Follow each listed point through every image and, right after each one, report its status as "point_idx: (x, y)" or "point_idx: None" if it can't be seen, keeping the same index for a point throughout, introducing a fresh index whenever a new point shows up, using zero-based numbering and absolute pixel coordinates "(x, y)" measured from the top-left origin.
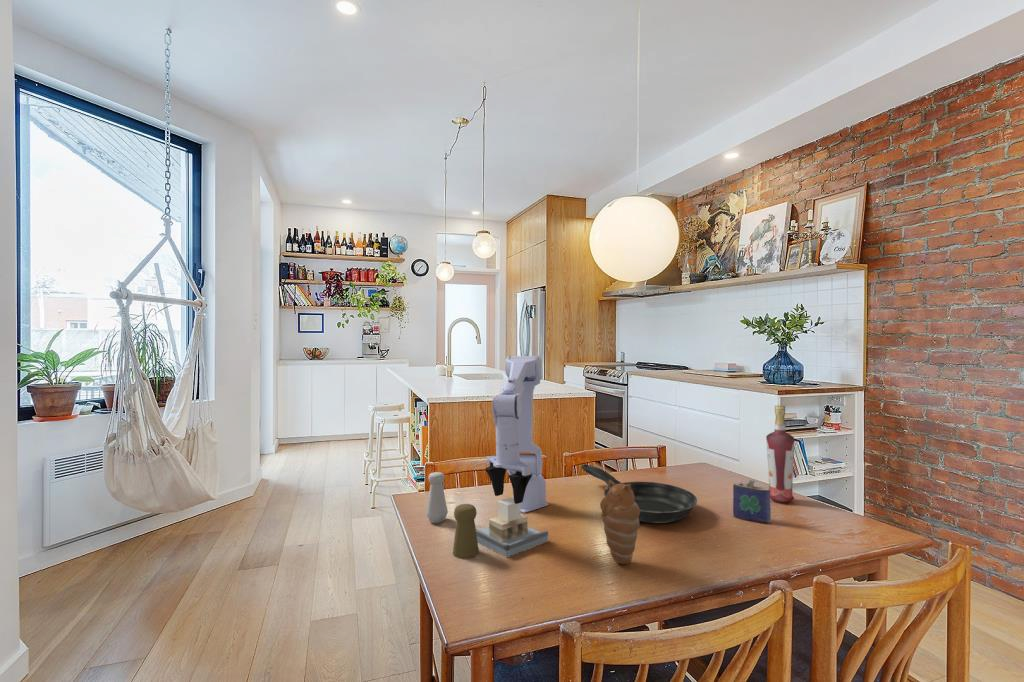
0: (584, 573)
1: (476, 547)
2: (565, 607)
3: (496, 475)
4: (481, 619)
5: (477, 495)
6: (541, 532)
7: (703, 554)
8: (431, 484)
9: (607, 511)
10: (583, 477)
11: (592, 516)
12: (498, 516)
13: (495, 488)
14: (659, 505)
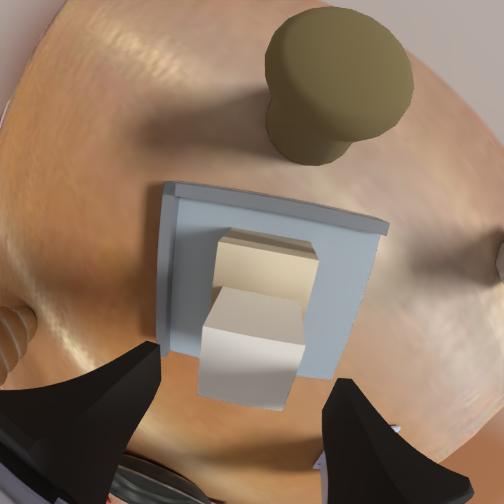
0: (33, 244)
1: (270, 128)
2: (10, 129)
3: (362, 492)
4: (82, 6)
5: (474, 410)
6: (162, 339)
7: (26, 382)
8: None
9: None
10: None
11: (200, 460)
12: (293, 302)
13: (350, 409)
14: (157, 491)
